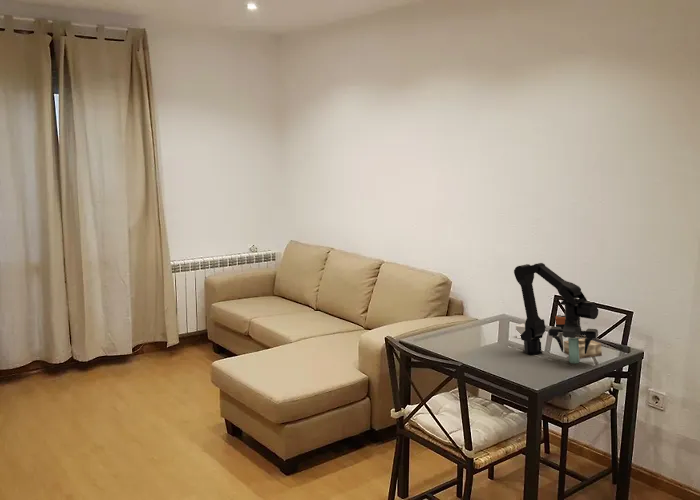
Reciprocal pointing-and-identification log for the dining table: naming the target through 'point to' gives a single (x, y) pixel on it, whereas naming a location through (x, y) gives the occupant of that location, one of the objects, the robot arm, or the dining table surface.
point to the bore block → (592, 350)
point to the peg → (573, 350)
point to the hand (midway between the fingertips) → (573, 352)
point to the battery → (560, 321)
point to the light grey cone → (520, 328)
